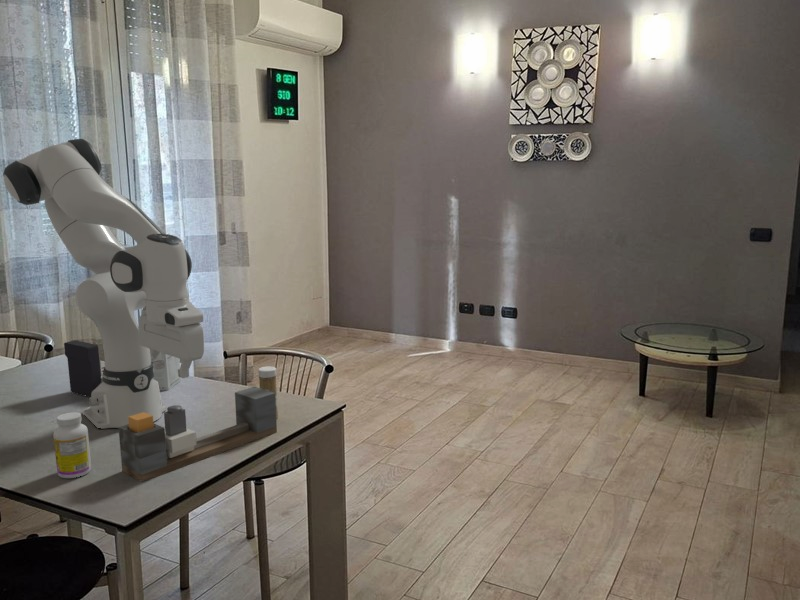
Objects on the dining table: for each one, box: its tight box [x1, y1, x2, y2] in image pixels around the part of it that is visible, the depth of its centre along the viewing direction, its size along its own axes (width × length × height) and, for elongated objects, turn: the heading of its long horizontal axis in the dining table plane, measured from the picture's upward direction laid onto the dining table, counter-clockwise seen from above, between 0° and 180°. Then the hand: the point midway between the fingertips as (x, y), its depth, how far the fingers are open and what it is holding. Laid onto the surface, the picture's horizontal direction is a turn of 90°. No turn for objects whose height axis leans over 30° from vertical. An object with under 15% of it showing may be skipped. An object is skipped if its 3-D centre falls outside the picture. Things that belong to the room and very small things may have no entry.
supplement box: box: [150, 353, 182, 391], centre depth 210 cm, size 10×9×17 cm
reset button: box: [128, 412, 155, 433], centre depth 150 cm, size 4×4×5 cm
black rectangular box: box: [63, 339, 103, 398], centre depth 202 cm, size 11×4×15 cm, turn 58°
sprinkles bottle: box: [257, 365, 279, 420], centre depth 182 cm, size 5×5×13 cm
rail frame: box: [118, 386, 278, 482], centre depth 162 cm, size 8×36×10 cm, turn 139°
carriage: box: [163, 405, 197, 458], centre depth 156 cm, size 6×6×10 cm
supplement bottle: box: [52, 411, 92, 479], centre depth 150 cm, size 7×7×13 cm
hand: (171, 372), depth 154 cm, fingers open, 8 cm apart
